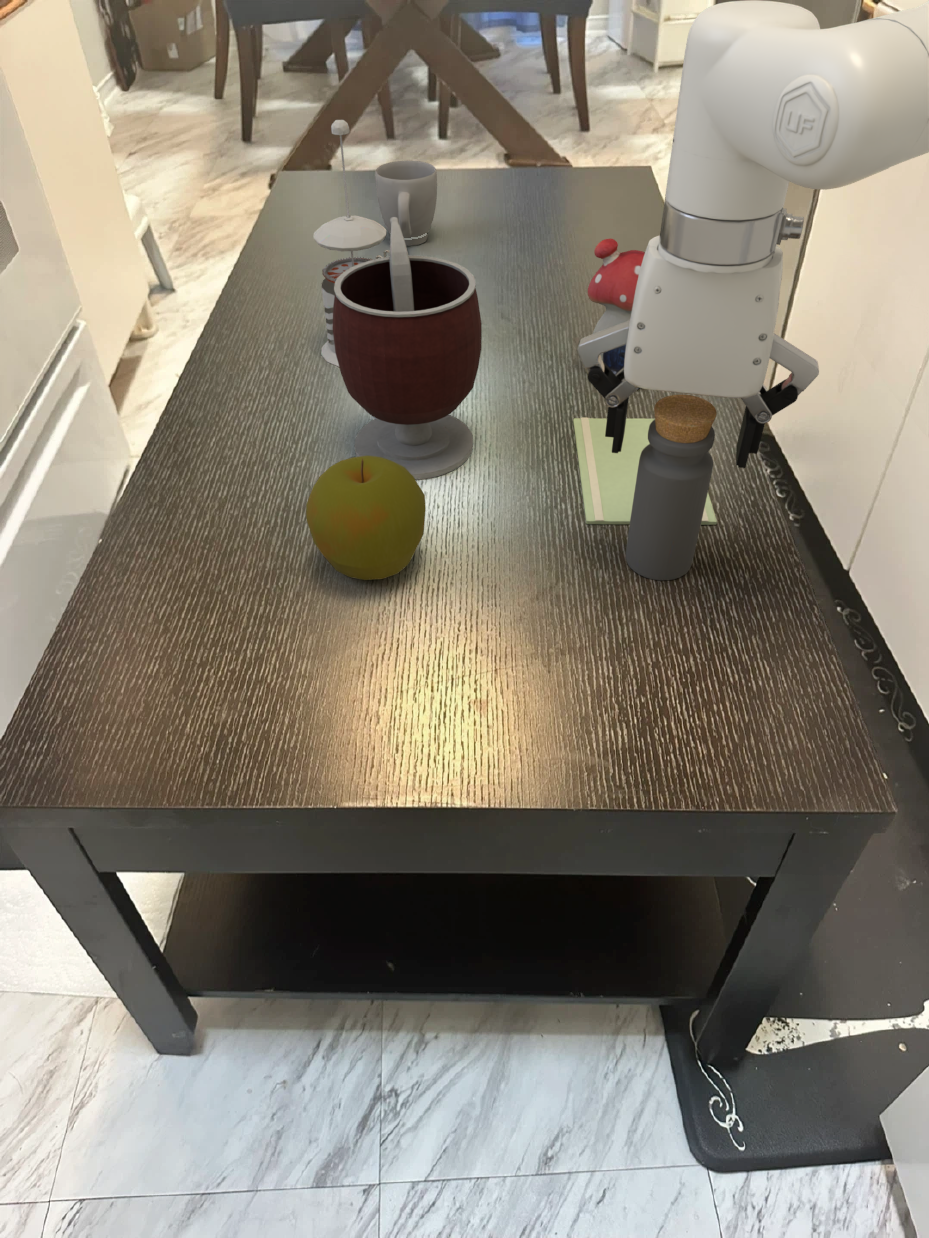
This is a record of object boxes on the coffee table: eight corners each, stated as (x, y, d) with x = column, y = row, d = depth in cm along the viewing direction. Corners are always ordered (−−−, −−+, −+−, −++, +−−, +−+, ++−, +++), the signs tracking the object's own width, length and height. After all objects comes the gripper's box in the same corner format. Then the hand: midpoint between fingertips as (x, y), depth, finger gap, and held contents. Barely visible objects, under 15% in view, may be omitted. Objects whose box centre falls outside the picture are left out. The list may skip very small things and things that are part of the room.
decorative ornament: (571, 373, 102) (582, 242, 92) (600, 352, 106) (613, 223, 96) (643, 397, 98) (663, 262, 88) (670, 373, 102) (692, 241, 92)
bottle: (617, 572, 77) (639, 420, 67) (634, 533, 81) (657, 384, 71) (684, 588, 75) (717, 436, 65) (698, 547, 79) (731, 398, 69)
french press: (350, 324, 112) (327, 102, 95) (429, 344, 108) (420, 116, 91) (304, 357, 106) (270, 126, 89) (386, 379, 102) (368, 142, 85)
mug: (382, 228, 136) (377, 160, 129) (439, 228, 136) (438, 160, 129) (375, 259, 127) (369, 188, 120) (436, 259, 127) (434, 188, 120)
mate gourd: (491, 477, 88) (494, 277, 74) (351, 490, 86) (327, 289, 72) (467, 398, 99) (465, 211, 85) (342, 409, 97) (320, 221, 83)
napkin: (716, 525, 82) (717, 520, 81) (586, 524, 82) (586, 520, 82) (685, 421, 95) (686, 417, 94) (572, 421, 95) (573, 417, 95)
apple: (423, 525, 82) (418, 421, 75) (433, 594, 75) (428, 487, 68) (315, 533, 81) (298, 430, 74) (315, 604, 74) (296, 498, 67)
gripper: (851, 219, 60) (789, 438, 71) (594, 202, 63) (576, 415, 74) (860, 262, 54) (792, 491, 66) (580, 241, 57) (563, 464, 69)
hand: (678, 451), depth 70 cm, fingers open, 9 cm apart
